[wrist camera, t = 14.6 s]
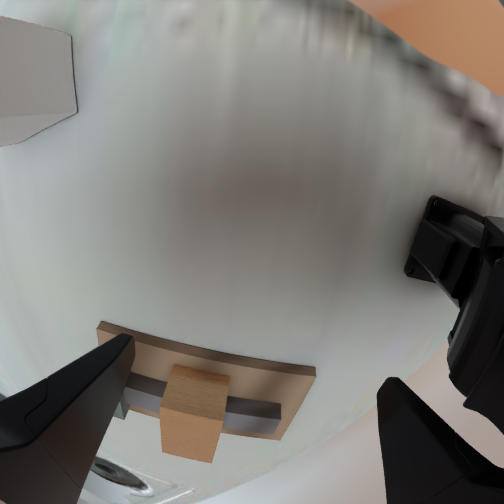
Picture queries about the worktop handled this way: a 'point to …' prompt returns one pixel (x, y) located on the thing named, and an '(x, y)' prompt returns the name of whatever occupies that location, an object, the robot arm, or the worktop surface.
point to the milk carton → (33, 79)
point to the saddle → (193, 412)
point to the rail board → (237, 367)
